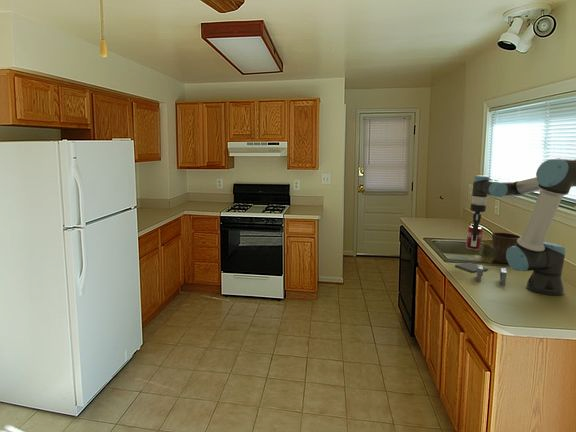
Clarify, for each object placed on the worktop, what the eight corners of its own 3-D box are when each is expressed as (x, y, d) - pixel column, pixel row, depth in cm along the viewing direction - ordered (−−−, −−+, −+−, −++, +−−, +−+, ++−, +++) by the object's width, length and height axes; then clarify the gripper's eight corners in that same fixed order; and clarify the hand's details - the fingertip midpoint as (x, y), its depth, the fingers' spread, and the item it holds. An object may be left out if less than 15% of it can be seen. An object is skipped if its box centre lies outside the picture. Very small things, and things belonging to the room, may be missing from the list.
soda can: (467, 245, 232) (470, 225, 230) (481, 248, 228) (484, 227, 226) (464, 248, 227) (467, 227, 224) (478, 250, 222) (481, 229, 220)
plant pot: (508, 257, 253) (511, 232, 250) (522, 265, 239) (526, 238, 236) (484, 257, 253) (487, 232, 250) (497, 264, 238) (500, 237, 235)
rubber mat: (487, 270, 226) (488, 268, 226) (472, 272, 221) (472, 271, 221) (470, 264, 237) (470, 262, 237) (454, 266, 232) (455, 264, 232)
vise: (505, 285, 203) (506, 272, 201) (476, 281, 208) (477, 268, 207) (504, 280, 210) (505, 268, 209) (476, 276, 215) (478, 264, 214)
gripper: (471, 200, 233) (466, 239, 237) (470, 205, 215) (465, 247, 220) (486, 202, 230) (481, 241, 234) (486, 207, 212) (480, 249, 216)
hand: (473, 244), depth 227 cm, fingers closed on soda can, 7 cm apart
